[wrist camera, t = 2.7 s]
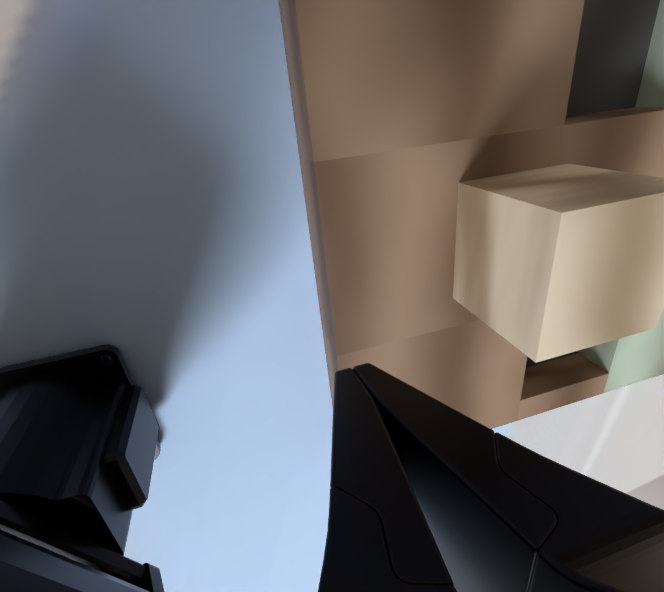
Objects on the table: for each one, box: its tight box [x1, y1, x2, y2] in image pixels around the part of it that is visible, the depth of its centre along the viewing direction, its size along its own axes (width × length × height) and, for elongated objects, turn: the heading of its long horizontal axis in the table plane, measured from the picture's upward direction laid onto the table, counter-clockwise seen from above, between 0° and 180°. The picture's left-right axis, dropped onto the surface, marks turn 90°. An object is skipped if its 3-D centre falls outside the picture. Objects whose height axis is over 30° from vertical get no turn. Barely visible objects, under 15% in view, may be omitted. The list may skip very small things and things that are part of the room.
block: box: [453, 164, 664, 363], centre depth 14 cm, size 5×5×5 cm
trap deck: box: [279, 0, 664, 429], centre depth 18 cm, size 25×23×2 cm
